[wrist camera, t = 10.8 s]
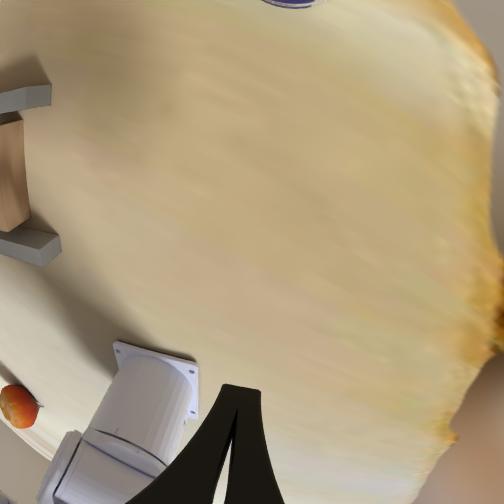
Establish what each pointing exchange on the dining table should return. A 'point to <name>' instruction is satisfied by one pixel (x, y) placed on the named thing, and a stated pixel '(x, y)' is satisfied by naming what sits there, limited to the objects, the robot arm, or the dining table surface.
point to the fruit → (18, 406)
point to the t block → (12, 176)
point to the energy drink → (294, 3)
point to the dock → (23, 239)
